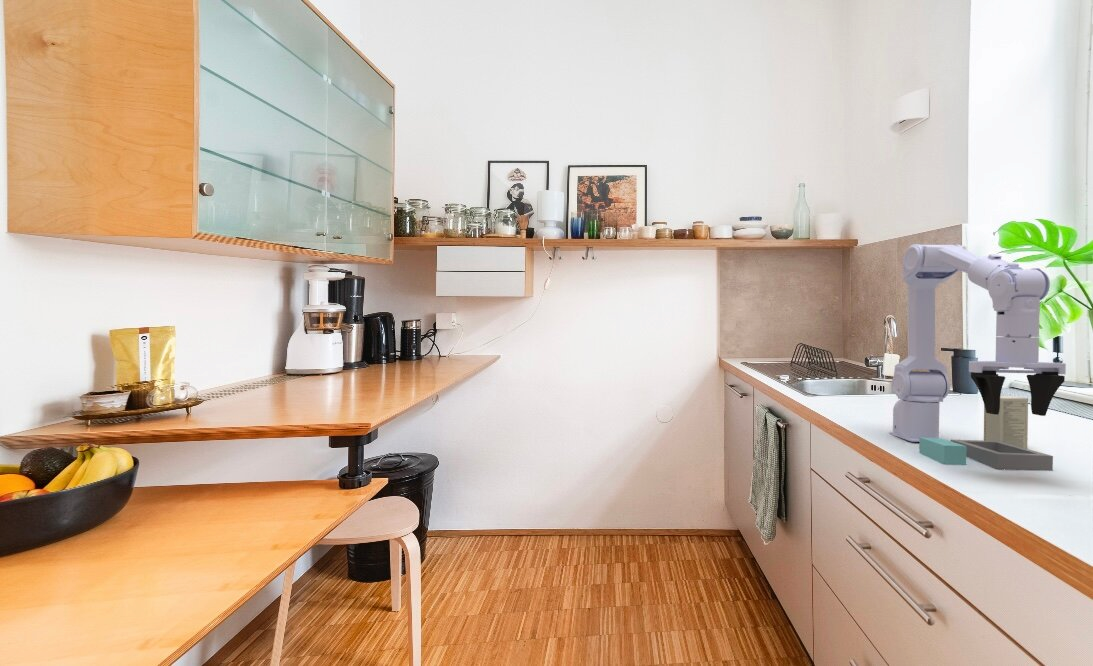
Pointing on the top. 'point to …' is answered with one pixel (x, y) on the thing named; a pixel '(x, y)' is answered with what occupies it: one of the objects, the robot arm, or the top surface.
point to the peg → (943, 451)
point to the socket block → (1006, 455)
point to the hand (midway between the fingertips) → (1015, 414)
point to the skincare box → (1008, 422)
